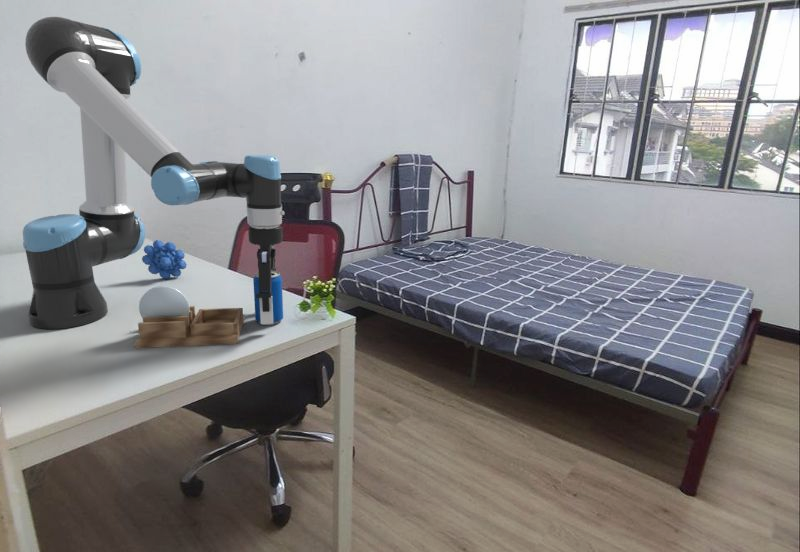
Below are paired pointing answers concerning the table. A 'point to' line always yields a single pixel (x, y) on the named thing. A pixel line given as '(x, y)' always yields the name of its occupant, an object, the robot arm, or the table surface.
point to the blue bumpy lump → (164, 259)
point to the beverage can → (276, 297)
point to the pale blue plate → (163, 303)
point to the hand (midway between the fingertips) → (269, 312)
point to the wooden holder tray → (192, 328)
